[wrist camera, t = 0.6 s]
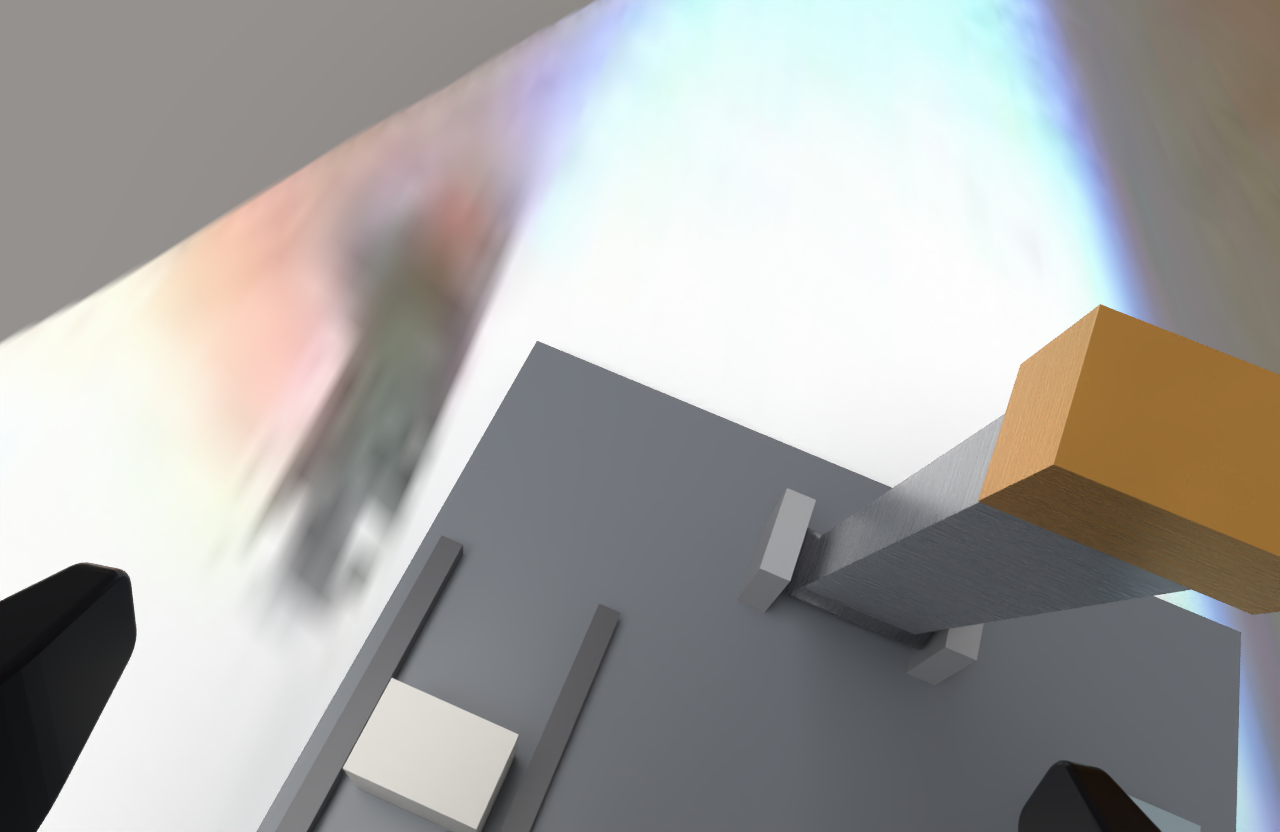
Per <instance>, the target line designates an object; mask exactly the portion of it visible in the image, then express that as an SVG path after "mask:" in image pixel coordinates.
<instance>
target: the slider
mask: <svg viewBox="0 0 1280 832" xmlns="http://www.w3.org/2000/svg"><path fill="white" fill-rule="evenodd" d="M518 737H519V734H517V733H514V732H512V731H510V730H508V729H505V728H503V727H501V726H499V725H496V724H494V723H492V722H490V721H488V720H485V719H483V718H481V717H479V716H476V715H474V714H472V713H470V712H467V711H465V710H463V709H461V708H458V707H456V706H454V705H452V704H449V703H447V702H445V701H443V700H441V699H438V698H436V697H434V696H432V695H429V694H427V693H425V692H423V691H420V690H418V689H416V688H414V687H411V686H409V685H407V684H405V683H402V682H400V681H398V680H396V679H394V678H391V680H390V682H389V684H388V686H387V687H386V689H385V691H384V693H383V695H382V697H381V698H380V700H379V702H378V704H377V706H376V708H375V709H374V711H373V713H372V715H371V717H370V719H369V721H368V722H367V724H366V726H365V728H364V730H363V732H362V733H361V735H360V737H359V739H358V741H357V743H356V744H355V746H354V748H353V750H352V752H351V754H350V755H349V757H348V759H347V761H346V763H345V765H344V767H343V770H344V771H345V772H346V774H347V775H348V776H349V778H350V779H351V780H352V781H353V783H354V784H355V785H356V787H357V788H359V789H362V790H364V791H366V792H368V793H370V794H373V795H375V796H377V797H379V798H381V799H384V800H386V801H388V802H390V803H392V804H394V805H397V806H399V807H401V808H403V809H405V810H408V811H410V812H412V813H414V814H416V815H419V816H421V817H423V818H425V819H427V820H429V821H432V822H434V823H436V824H438V825H440V826H443V827H445V828H447V829H449V830H451V831H454V832H482V830H483V828H484V825H485V823H486V821H487V819H488V816H489V814H490V812H491V810H492V807H493V805H494V803H495V801H496V799H497V796H498V794H499V792H500V790H501V787H502V785H503V783H504V781H505V778H506V776H507V774H508V772H509V769H510V767H511V765H512V763H513V760H514V758H515V756H516V749H517V743H518Z"/></svg>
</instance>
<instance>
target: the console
mask: <svg viewBox="0 0 1280 832" xmlns="http://www.w3.org/2000/svg"><path fill="white" fill-rule="evenodd" d="M891 489H892V488H891V487H889V486H886V485H884V484H881V483H879V482H877V481H874V480H872V479H869V478H867V477H864V476H862V475H860V474H857V473H855V472H852V471H850V470H848V469H845V468H843V467H840V466H838V465H836V464H833V463H831V462H828V461H826V460H823V459H821V458H819V457H816V456H814V455H811V454H809V453H807V452H804V451H802V450H799V449H797V448H794V447H792V446H790V445H787V444H785V443H782V442H780V441H778V440H775V439H773V438H770V437H768V436H766V435H763V434H761V433H758V432H756V431H753V430H751V429H749V428H746V427H744V426H741V425H739V424H737V423H734V422H732V421H729V420H727V419H724V418H722V417H720V416H717V415H715V414H712V413H710V412H708V411H705V410H703V409H700V408H698V407H696V406H693V405H691V404H688V403H686V402H683V401H681V400H679V399H676V398H674V397H671V396H669V395H667V394H664V393H662V392H659V391H657V390H655V389H652V388H650V387H647V386H645V385H642V384H640V383H638V382H635V381H633V380H630V379H628V378H626V377H623V376H621V375H618V374H616V373H613V372H611V371H609V370H606V369H604V368H601V367H599V366H597V365H594V364H592V363H589V362H587V361H585V360H582V359H580V358H577V357H575V356H572V355H570V354H568V353H565V352H563V351H560V350H558V349H556V348H553V347H551V346H548V345H546V344H544V343H541V342H539V341H537V342H536V344H535V346H534V347H533V349H532V351H531V353H530V354H529V356H528V358H527V360H526V361H525V363H524V365H523V367H522V368H521V370H520V372H519V374H518V375H517V377H516V379H515V381H514V382H513V384H512V386H511V388H510V389H509V391H508V393H507V395H506V396H505V398H504V400H503V402H502V403H501V405H500V407H499V409H498V410H497V412H496V414H495V416H494V417H493V419H492V421H491V423H490V424H489V426H488V428H487V430H486V431H485V433H484V435H483V437H482V438H481V440H480V442H479V444H478V445H477V447H476V449H475V450H474V452H473V454H472V456H471V457H470V459H469V461H468V463H467V464H466V466H465V468H464V470H463V471H462V473H461V475H460V477H459V478H458V480H457V482H456V484H455V485H454V487H453V489H452V491H451V492H450V494H449V496H448V498H447V499H446V501H445V503H444V505H443V506H442V508H441V510H440V512H439V513H438V515H437V517H436V519H435V520H434V522H433V524H432V526H431V527H430V529H429V531H428V533H427V534H426V536H425V538H424V540H423V541H422V543H421V545H420V547H419V548H418V550H417V552H416V554H415V555H414V557H413V559H412V561H411V562H410V564H409V566H408V568H407V569H406V571H405V573H404V575H403V576H402V578H401V580H400V582H399V583H398V585H397V587H396V589H395V590H394V592H393V594H392V596H391V597H390V599H389V601H388V603H387V604H386V606H385V608H384V610H383V611H382V613H381V615H380V617H379V618H378V620H377V622H376V624H375V625H374V627H373V629H372V631H371V632H370V634H369V636H368V638H367V639H366V641H365V643H364V645H363V646H362V648H361V650H360V652H359V653H358V655H357V657H356V659H355V660H354V662H353V664H352V666H351V667H350V669H349V671H348V673H347V674H346V676H345V678H344V680H343V681H342V683H341V685H340V687H339V688H338V690H337V692H336V694H335V695H334V697H333V699H332V701H331V702H330V704H329V706H328V708H327V709H326V711H325V713H324V715H323V716H322V718H321V720H320V722H319V723H318V725H317V727H316V729H315V730H314V732H313V734H312V736H311V737H310V739H309V741H308V743H307V744H306V746H305V748H304V750H303V751H302V753H301V755H300V757H299V758H298V760H297V762H296V764H295V765H294V767H293V769H292V771H291V772H290V774H289V776H288V778H287V779H286V781H285V783H284V785H283V786H282V788H281V790H280V792H279V793H278V795H277V797H276V799H275V800H274V802H273V804H272V806H271V807H270V809H269V811H268V813H267V814H266V816H265V818H264V820H263V821H262V823H261V825H260V827H259V828H258V830H257V832H454V831H451V830H449V829H447V828H445V827H443V826H440V825H438V824H436V823H434V822H432V821H429V820H427V819H425V818H423V817H421V816H419V815H416V814H414V813H412V812H410V811H408V810H405V809H403V808H401V807H399V806H397V805H394V804H392V803H390V802H388V801H386V800H384V799H381V798H379V797H377V796H375V795H373V794H370V793H368V792H366V791H364V790H362V789H359V788H357V787H356V785H355V784H354V783H353V781H352V780H351V779H350V778H349V776H348V775H347V774H346V772H345V771H344V770H343V767H344V765H345V763H346V761H347V759H348V757H349V755H350V754H351V752H352V750H353V748H354V746H355V744H356V743H357V741H358V739H359V737H360V735H361V733H362V732H363V730H364V728H365V726H366V724H367V722H368V721H369V719H370V717H371V715H372V713H373V711H374V709H375V708H376V706H377V704H378V702H379V700H380V698H381V697H382V695H383V693H384V691H385V689H386V687H387V686H388V684H389V682H390V680H391V678H394V679H396V680H398V681H400V682H402V683H405V684H407V685H409V686H411V687H414V688H416V689H418V690H420V691H423V692H425V693H427V694H429V695H432V696H434V697H436V698H438V699H441V700H443V701H445V702H447V703H449V704H452V705H454V706H456V707H458V708H461V709H463V710H465V711H467V712H470V713H472V714H474V715H476V716H479V717H481V718H483V719H485V720H488V721H490V722H492V723H494V724H496V725H499V726H501V727H503V728H505V729H508V730H510V731H512V732H514V733H517V734H519V737H518V743H517V749H516V756H515V758H514V760H513V763H512V765H511V767H510V769H509V772H508V774H507V776H506V778H505V781H504V783H503V785H502V787H501V790H500V792H499V794H498V796H497V799H496V801H495V803H494V805H493V807H492V810H491V812H490V814H489V816H488V819H487V821H486V823H485V825H484V828H483V830H482V832H1018V821H1019V816H1020V813H1021V810H1022V808H1023V806H1024V805H1025V803H1026V802H1027V800H1028V799H1029V797H1030V796H1031V794H1032V793H1033V792H1034V790H1035V789H1036V787H1037V786H1038V784H1039V783H1040V781H1041V780H1042V778H1043V777H1044V776H1045V774H1046V773H1047V771H1048V770H1049V768H1050V767H1051V766H1052V765H1053V764H1054V763H1056V762H1058V761H1060V760H1067V761H1072V762H1077V763H1082V764H1087V765H1092V766H1096V767H1098V768H1100V769H1102V770H1104V771H1105V772H1106V773H1107V774H1108V775H1110V776H1111V777H1112V779H1113V780H1114V781H1115V782H1116V783H1117V784H1118V785H1119V786H1120V787H1121V788H1122V789H1123V790H1124V791H1125V793H1126V794H1127V795H1128V796H1129V797H1130V798H1131V799H1132V800H1133V801H1134V802H1135V803H1136V804H1137V805H1138V806H1139V808H1140V809H1141V810H1142V811H1143V812H1144V813H1145V814H1146V815H1147V816H1148V817H1149V818H1150V819H1151V820H1152V822H1153V823H1154V824H1155V825H1156V826H1157V827H1158V828H1159V829H1160V830H1161V831H1162V832H1236V806H1237V767H1238V727H1239V687H1240V647H1241V632H1239V631H1236V630H1234V629H1231V628H1229V627H1226V626H1224V625H1222V624H1219V623H1217V622H1214V621H1212V620H1210V619H1207V618H1205V617H1202V616H1200V615H1197V614H1195V613H1193V612H1190V611H1188V610H1185V609H1183V608H1181V607H1178V606H1176V605H1173V604H1171V603H1169V602H1166V601H1164V600H1161V599H1159V598H1156V597H1154V596H1148V597H1142V598H1135V599H1129V600H1123V601H1117V602H1111V603H1105V604H1099V605H1092V606H1086V607H1080V608H1074V609H1068V610H1062V611H1056V612H1049V613H1043V614H1037V615H1031V616H1025V617H1019V618H1012V619H1006V620H1000V621H994V622H988V623H982V624H976V625H969V626H963V627H957V628H951V629H945V630H939V631H934V633H933V634H932V636H931V638H930V639H929V641H928V642H927V643H926V645H925V646H924V647H922V648H921V649H915V648H912V647H910V646H908V645H905V644H903V643H901V642H898V641H896V640H894V639H891V638H889V637H887V636H884V635H882V634H880V633H877V632H875V631H873V630H870V629H868V628H866V627H863V626H861V625H859V624H856V623H854V622H851V621H849V620H847V619H844V618H842V617H840V616H837V615H835V614H833V613H830V612H828V611H826V610H823V609H821V608H819V607H816V606H814V605H812V604H809V603H807V602H805V601H802V600H800V599H798V598H795V597H793V596H790V595H788V594H786V593H783V592H782V591H783V589H784V588H785V587H786V586H787V585H788V583H789V582H790V580H791V577H792V574H793V571H794V568H795V565H796V562H797V558H798V555H799V552H800V549H801V546H802V543H803V540H804V536H805V533H806V530H807V528H810V529H812V530H814V531H817V532H819V533H822V534H825V533H826V532H828V531H829V530H831V529H832V528H834V527H835V526H837V525H838V524H840V523H841V522H843V521H844V520H846V519H847V518H849V517H850V516H852V515H853V514H855V513H856V512H858V511H859V510H861V509H862V508H864V507H865V506H867V505H868V504H870V503H871V502H873V501H874V500H876V499H877V498H879V497H880V496H882V495H883V494H885V493H886V492H888V491H889V490H891Z"/></svg>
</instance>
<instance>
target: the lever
mask: <svg viewBox="0 0 1280 832" xmlns="http://www.w3.org/2000/svg"><path fill="white" fill-rule="evenodd" d="M1191 589H1192V590H1194V591H1197V592H1199V593H1202V594H1204V595H1206V596H1209V597H1211V598H1214V599H1216V600H1219V601H1221V602H1223V603H1226V604H1228V605H1231V606H1233V607H1235V608H1238V609H1240V610H1243V611H1245V612H1248V613H1250V614H1252V615H1253V614H1262V613H1272V612H1280V375H1279V374H1276V373H1273V372H1271V371H1268V370H1266V369H1263V368H1261V367H1258V366H1256V365H1253V364H1251V363H1248V362H1246V361H1243V360H1240V359H1238V358H1235V357H1233V356H1230V355H1228V354H1225V353H1223V352H1220V351H1218V350H1215V349H1212V348H1210V347H1207V346H1205V345H1202V344H1200V343H1197V342H1195V341H1192V340H1190V339H1187V338H1185V337H1182V336H1179V335H1177V334H1174V333H1172V332H1169V331H1167V330H1164V329H1162V328H1159V327H1157V326H1154V325H1151V324H1149V323H1146V322H1144V321H1141V320H1139V319H1136V318H1134V317H1131V316H1129V315H1126V314H1124V313H1121V312H1118V311H1116V310H1113V309H1111V308H1108V307H1106V306H1103V305H1101V304H1100V305H1099V306H1098V307H1096V308H1095V309H1094V310H1092V311H1091V312H1090V313H1088V314H1087V315H1086V316H1084V317H1083V318H1082V319H1080V320H1079V321H1078V322H1076V323H1075V324H1074V325H1072V326H1071V327H1070V328H1068V329H1067V330H1066V331H1064V332H1063V333H1062V334H1060V335H1059V336H1058V337H1057V338H1055V339H1054V340H1053V341H1051V342H1050V343H1049V344H1047V345H1046V346H1045V347H1043V348H1042V349H1041V350H1039V351H1038V352H1037V353H1035V354H1034V355H1033V356H1031V357H1030V358H1029V359H1027V360H1026V361H1025V362H1023V363H1022V364H1021V365H1020V368H1019V371H1018V375H1017V378H1016V381H1015V384H1014V387H1013V390H1012V394H1011V397H1010V400H1009V403H1008V406H1007V410H1006V413H1005V414H1004V415H1002V416H1001V417H999V418H998V419H996V420H995V421H993V422H992V423H990V424H989V425H987V426H986V427H984V428H983V429H981V430H980V431H978V432H977V433H975V434H974V435H972V436H971V437H969V438H968V439H966V440H965V441H963V442H962V443H960V444H959V445H957V446H956V447H954V448H953V449H951V450H950V451H948V452H947V453H945V454H944V455H942V456H940V457H939V458H937V459H936V460H934V461H933V462H931V463H930V464H928V465H927V466H925V467H924V468H922V469H921V470H919V471H918V472H916V473H915V474H913V475H912V476H910V477H909V478H907V479H906V480H904V481H903V482H901V483H900V484H898V485H897V486H895V487H894V488H892V489H891V490H889V491H888V492H886V493H885V494H883V495H882V496H880V497H879V498H877V499H876V500H874V501H873V502H871V503H870V504H868V505H867V506H865V507H864V508H862V509H861V510H859V511H858V512H856V513H855V514H853V515H852V516H850V517H849V518H847V519H846V520H844V521H843V522H841V523H840V524H838V525H837V526H835V527H834V528H832V529H831V530H829V531H828V532H826V533H825V534H822V533H819V532H817V531H814V530H812V529H810V528H807V530H806V533H805V536H804V540H803V543H802V546H801V549H800V552H799V555H798V558H797V562H796V565H795V568H794V571H793V574H792V577H791V580H790V582H789V583H788V585H787V586H786V587H785V588H784V589H783V591H782V592H783V593H786V594H788V595H790V596H793V597H795V598H798V599H800V600H802V601H805V602H807V603H809V604H812V605H814V606H816V607H819V608H821V609H823V610H826V611H828V612H830V613H833V614H835V615H837V616H840V617H842V618H844V619H847V620H849V621H851V622H854V623H856V624H859V625H861V626H863V627H866V628H868V629H870V630H873V631H875V632H877V633H880V634H882V635H884V636H887V637H889V638H891V639H894V640H896V641H898V642H901V643H903V644H905V645H908V646H910V647H912V648H915V649H921V648H922V647H924V646H925V645H926V643H927V642H928V641H929V639H930V638H931V636H932V634H933V633H934V631H939V630H945V629H951V628H957V627H963V626H969V625H976V624H982V623H988V622H994V621H1000V620H1006V619H1012V618H1019V617H1025V616H1031V615H1037V614H1043V613H1049V612H1056V611H1062V610H1068V609H1074V608H1080V607H1086V606H1092V605H1099V604H1105V603H1111V602H1117V601H1123V600H1129V599H1135V598H1142V597H1148V596H1154V595H1160V594H1166V593H1172V592H1179V591H1185V590H1191Z"/></svg>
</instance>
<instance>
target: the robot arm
mask: <svg viewBox="0 0 1280 832" xmlns="http://www.w3.org/2000/svg"><path fill="white" fill-rule="evenodd" d="M135 642H136V621H135V613H134V604H133V596H132V587H131V581H130V577H129V576H128V574H127V573H126V572H125V571H123V570H121V569H117V568H112V567H108V566H103V565H98V564H93V563H78V564H75V565H72V566H70V567H68V568H66V569H64V570H62V571H60V572H58V573H56V574H54V575H52V576H50V577H48V578H46V579H44V580H42V581H40V582H38V583H36V584H34V585H32V586H29V587H27V588H25V589H23V590H21V591H19V592H17V593H15V594H13V595H11V596H9V597H7V598H5V599H3V600H1V601H0V832H37V830H38V829H39V827H40V825H41V824H42V822H43V821H44V819H45V817H46V816H47V814H48V813H49V811H50V809H51V808H52V806H53V804H54V802H55V801H56V799H57V797H58V795H59V793H60V791H61V790H62V788H63V786H64V784H65V782H66V780H67V779H68V777H69V775H70V773H71V771H72V769H73V767H74V765H75V763H76V761H77V759H78V757H79V755H80V754H81V752H82V750H83V748H84V746H85V744H86V742H87V740H88V738H89V736H90V734H91V732H92V730H93V729H94V727H95V725H96V723H97V721H98V719H99V717H100V715H101V713H102V711H103V709H104V707H105V705H106V704H107V702H108V700H109V698H110V696H111V694H112V692H113V690H114V688H115V686H116V684H117V682H118V680H119V679H120V677H121V675H122V673H123V671H124V669H125V667H126V665H127V663H128V661H129V659H130V657H131V655H132V652H133V649H134V646H135ZM1018 832H1162V831H1161V830H1160V829H1159V828H1158V827H1157V826H1156V825H1155V824H1154V823H1153V822H1152V820H1151V819H1150V818H1149V817H1148V816H1147V815H1146V814H1145V813H1144V812H1143V811H1142V810H1141V809H1140V808H1139V806H1138V805H1137V804H1136V803H1135V802H1134V801H1133V800H1132V799H1131V798H1130V797H1129V796H1128V795H1127V794H1126V793H1125V791H1124V790H1123V789H1122V788H1121V787H1120V786H1119V785H1118V784H1117V783H1116V782H1115V781H1114V780H1113V779H1112V777H1111V776H1110V775H1108V774H1107V773H1106V772H1105V771H1104V770H1102V769H1100V768H1098V767H1096V766H1092V765H1087V764H1082V763H1077V762H1072V761H1067V760H1060V761H1058V762H1056V763H1054V764H1053V765H1052V766H1051V767H1050V768H1049V770H1048V771H1047V773H1046V774H1045V776H1044V777H1043V778H1042V780H1041V781H1040V783H1039V784H1038V786H1037V787H1036V789H1035V790H1034V792H1033V793H1032V794H1031V796H1030V797H1029V799H1028V800H1027V802H1026V803H1025V805H1024V806H1023V808H1022V810H1021V813H1020V816H1019V821H1018Z"/></svg>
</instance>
